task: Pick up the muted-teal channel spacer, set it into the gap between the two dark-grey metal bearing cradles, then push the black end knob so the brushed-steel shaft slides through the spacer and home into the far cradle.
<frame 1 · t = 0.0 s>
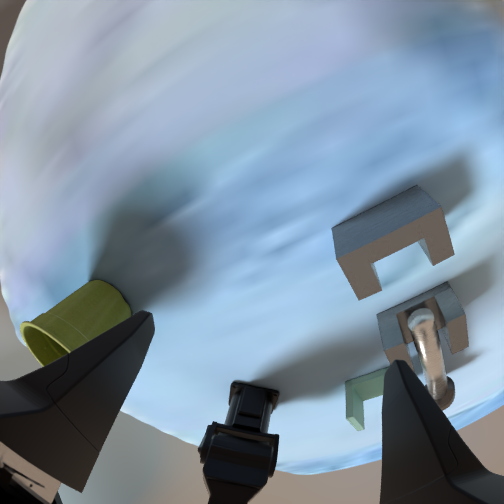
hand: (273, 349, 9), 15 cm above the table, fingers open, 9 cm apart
spacer: (373, 382, 31), on the table
plant pot: (108, 301, 32), on the table
cradle rig: (412, 298, 24), on the table
shaft: (433, 365, 24), point 3 cm above the table, slide at 0.0 cm
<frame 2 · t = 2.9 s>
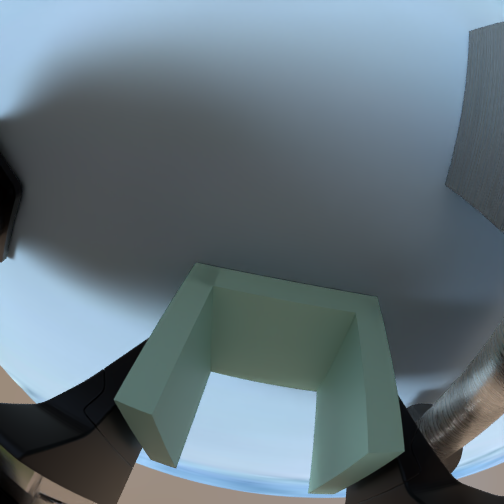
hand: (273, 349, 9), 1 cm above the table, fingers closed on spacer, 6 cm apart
spacer: (276, 329, 10), on the table, touching gripper
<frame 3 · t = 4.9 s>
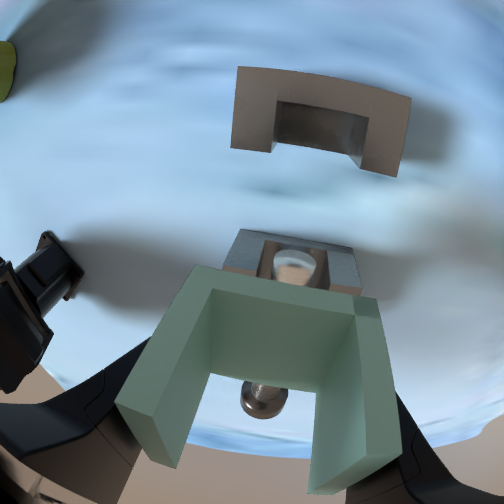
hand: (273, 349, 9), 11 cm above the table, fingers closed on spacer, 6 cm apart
spacer: (275, 330, 10), point 10 cm above the table, touching gripper
plant pot: (2, 73, 16), on the table
cradle rig: (296, 238, 20), on the table
shaft: (275, 349, 21), point 3 cm above the table, slide at 0.0 cm
when the fingers open (2 cm above the table, at t = 7.2 s): spacer drops 1 cm, on the table.
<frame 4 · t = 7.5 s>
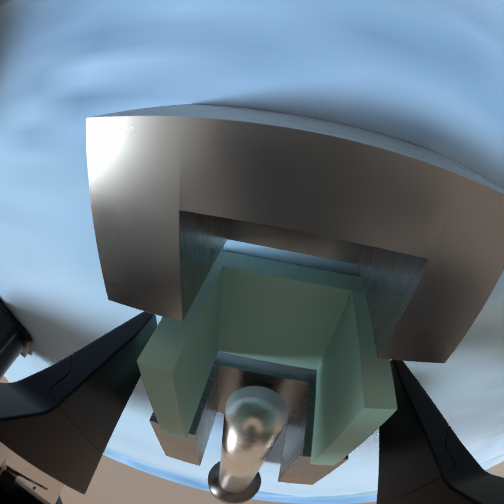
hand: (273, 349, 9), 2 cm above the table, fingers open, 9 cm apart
spacer: (279, 309, 11), on the table
cradle rig: (267, 358, 13), on the table
shaft: (240, 462, 15), point 3 cm above the table, slide at 0.0 cm
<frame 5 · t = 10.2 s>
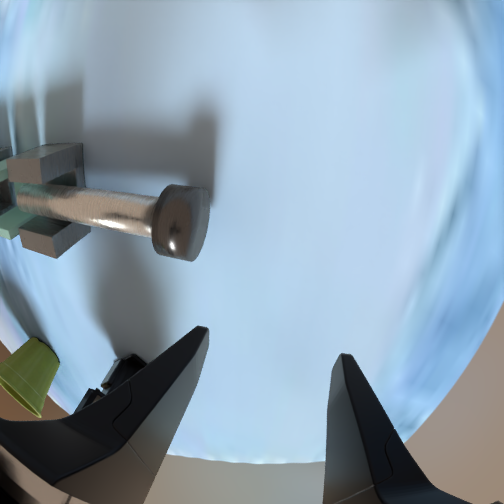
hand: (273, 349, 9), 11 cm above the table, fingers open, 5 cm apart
spacer: (31, 183, 21), on the table
plant pot: (46, 350, 39), on the table
cradle rig: (49, 185, 21), on the table
shaft: (91, 207, 18), point 3 cm above the table, slide at 0.0 cm
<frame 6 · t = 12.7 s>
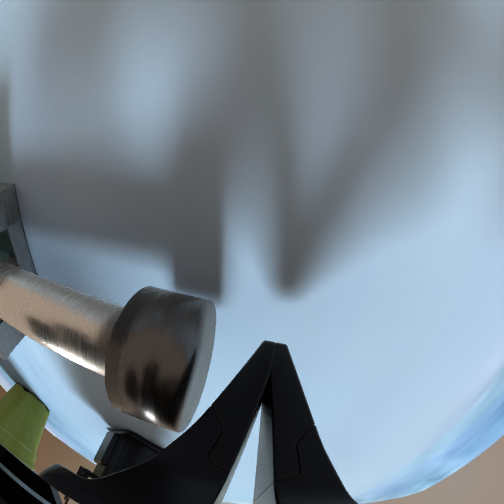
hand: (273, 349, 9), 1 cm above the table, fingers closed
plant pot: (34, 397, 30), on the table
shaft: (23, 301, 9), point 3 cm above the table, slide at 0.3 cm, touching gripper
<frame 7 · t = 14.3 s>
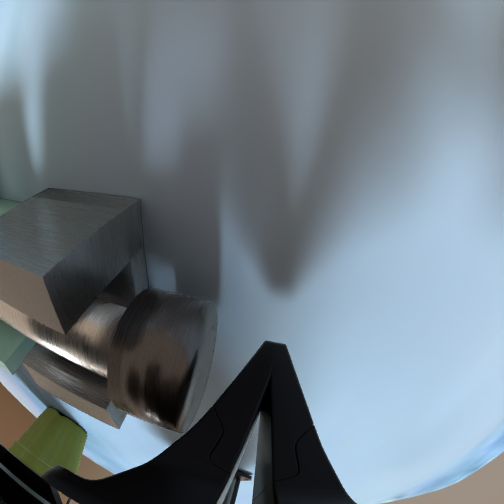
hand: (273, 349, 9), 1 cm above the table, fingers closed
spacer: (29, 253, 12), on the table
plant pot: (68, 420, 29), on the table
cradle rig: (64, 266, 12), on the table
shaft: (24, 302, 9), point 3 cm above the table, slide at 8.3 cm, touching gripper
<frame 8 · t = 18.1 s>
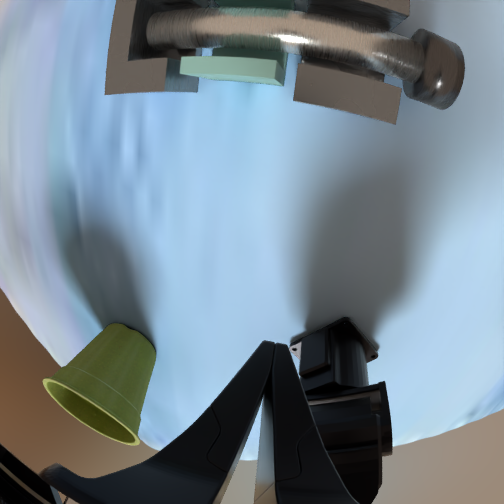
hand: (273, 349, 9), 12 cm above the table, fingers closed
spacer: (253, 39, 14), on the table
plant pot: (132, 343, 31), on the table
cradle rig: (304, 44, 14), on the table
shaft: (302, 33, 11), point 3 cm above the table, slide at 8.3 cm
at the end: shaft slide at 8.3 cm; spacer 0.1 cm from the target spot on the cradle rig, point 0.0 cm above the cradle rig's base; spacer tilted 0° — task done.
